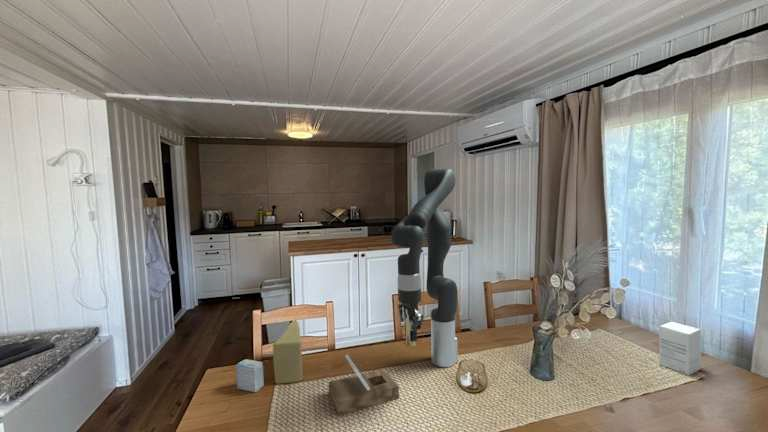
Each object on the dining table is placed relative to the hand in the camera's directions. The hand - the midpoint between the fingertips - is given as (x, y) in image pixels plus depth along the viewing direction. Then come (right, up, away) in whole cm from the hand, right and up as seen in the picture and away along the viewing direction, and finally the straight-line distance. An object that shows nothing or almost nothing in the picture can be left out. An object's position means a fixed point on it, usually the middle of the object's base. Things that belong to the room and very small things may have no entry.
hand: (410, 338), depth 104 cm
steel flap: (-18, -11, -2) cm, 21 cm away
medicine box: (-55, -19, +6) cm, 59 cm away
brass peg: (0, -2, 0) cm, 2 cm away
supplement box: (+100, -16, +13) cm, 102 cm away
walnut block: (-16, -19, 0) cm, 24 cm away
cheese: (-44, -19, +19) cm, 51 cm away
